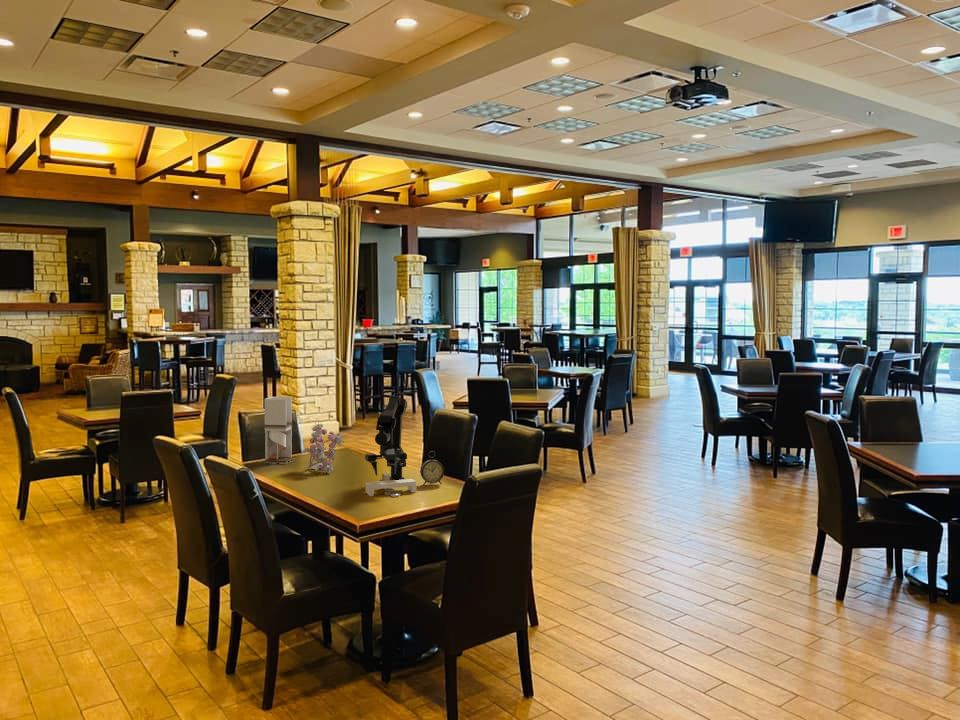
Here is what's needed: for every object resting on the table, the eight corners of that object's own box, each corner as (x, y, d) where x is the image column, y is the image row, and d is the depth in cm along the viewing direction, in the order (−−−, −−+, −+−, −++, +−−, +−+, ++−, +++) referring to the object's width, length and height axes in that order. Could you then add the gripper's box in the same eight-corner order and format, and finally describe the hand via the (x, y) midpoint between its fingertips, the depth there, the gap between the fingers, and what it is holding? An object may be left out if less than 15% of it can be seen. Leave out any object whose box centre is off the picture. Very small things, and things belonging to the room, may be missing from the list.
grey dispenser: (264, 464, 397) (264, 398, 395) (270, 460, 408) (270, 396, 405) (285, 464, 397) (285, 399, 394) (291, 460, 407) (291, 397, 405)
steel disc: (388, 495, 334) (388, 493, 334) (398, 494, 336) (398, 492, 336) (392, 498, 330) (392, 495, 330) (401, 497, 332) (401, 494, 332)
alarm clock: (421, 486, 352) (421, 452, 351) (419, 483, 357) (419, 450, 356) (444, 485, 355) (444, 451, 354) (441, 482, 360) (442, 449, 359)
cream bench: (365, 493, 337) (365, 482, 337) (411, 489, 346) (412, 478, 345) (369, 496, 331) (369, 485, 331) (416, 492, 340) (416, 481, 340)
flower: (287, 472, 371) (308, 428, 367) (296, 458, 393) (317, 417, 389) (324, 489, 373) (345, 446, 369) (331, 475, 395) (351, 434, 391)
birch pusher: (376, 488, 346) (376, 473, 346) (392, 487, 350) (392, 472, 349) (385, 495, 333) (385, 480, 333) (402, 493, 337) (402, 478, 336)
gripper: (371, 445, 333) (371, 480, 334) (411, 443, 341) (410, 477, 342) (364, 441, 343) (364, 474, 344) (403, 439, 351) (403, 472, 352)
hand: (386, 474), depth 345 cm, fingers open, 9 cm apart
